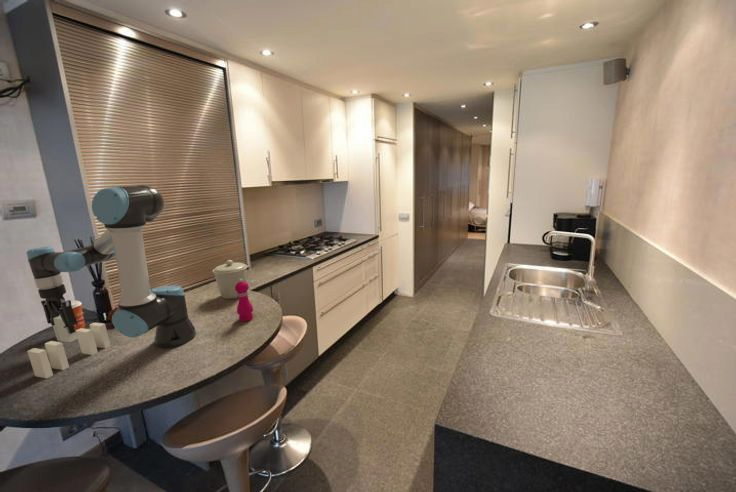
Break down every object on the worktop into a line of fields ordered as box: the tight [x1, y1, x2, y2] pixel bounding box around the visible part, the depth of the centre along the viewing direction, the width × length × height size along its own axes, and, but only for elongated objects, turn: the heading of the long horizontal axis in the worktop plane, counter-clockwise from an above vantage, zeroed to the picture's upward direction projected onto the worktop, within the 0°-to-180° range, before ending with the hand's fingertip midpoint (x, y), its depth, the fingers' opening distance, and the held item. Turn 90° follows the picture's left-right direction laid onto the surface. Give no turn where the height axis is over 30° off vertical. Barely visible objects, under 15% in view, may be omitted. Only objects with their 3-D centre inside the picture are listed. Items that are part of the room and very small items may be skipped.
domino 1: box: [26, 347, 54, 379], centre depth 114 cm, size 6×2×10 cm, turn 73°
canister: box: [212, 259, 248, 300], centre depth 181 cm, size 18×18×21 cm
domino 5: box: [89, 322, 111, 349], centre depth 133 cm, size 6×2×10 cm, turn 73°
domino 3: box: [44, 340, 70, 371], centre depth 119 cm, size 6×2×10 cm, turn 73°
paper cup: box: [60, 300, 86, 332], centre depth 146 cm, size 8×8×14 cm
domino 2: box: [53, 315, 73, 343], centre depth 131 cm, size 6×2×10 cm, turn 73°
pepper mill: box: [235, 279, 254, 322], centre depth 151 cm, size 7×7×20 cm
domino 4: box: [76, 328, 99, 356], centre depth 128 cm, size 6×2×10 cm, turn 73°
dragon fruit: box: [105, 306, 119, 324], centre depth 155 cm, size 8×8×12 cm
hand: (67, 339), depth 131 cm, fingers closed on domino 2, 6 cm apart
